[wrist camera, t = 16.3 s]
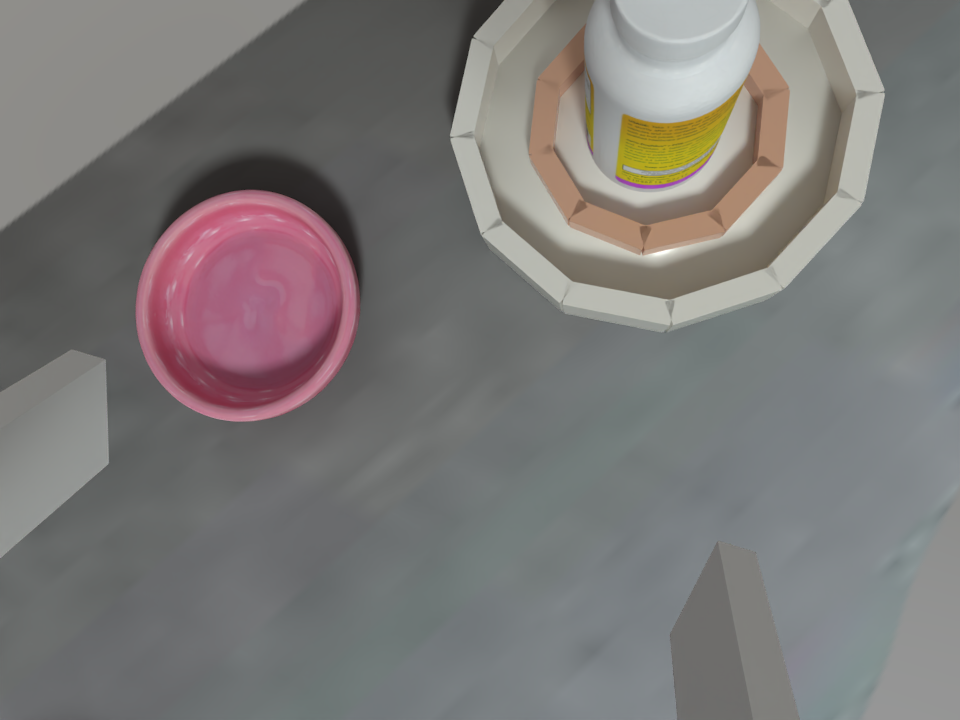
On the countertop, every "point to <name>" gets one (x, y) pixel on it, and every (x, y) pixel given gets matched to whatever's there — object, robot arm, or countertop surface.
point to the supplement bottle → (663, 84)
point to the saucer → (247, 306)
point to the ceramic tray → (684, 209)
